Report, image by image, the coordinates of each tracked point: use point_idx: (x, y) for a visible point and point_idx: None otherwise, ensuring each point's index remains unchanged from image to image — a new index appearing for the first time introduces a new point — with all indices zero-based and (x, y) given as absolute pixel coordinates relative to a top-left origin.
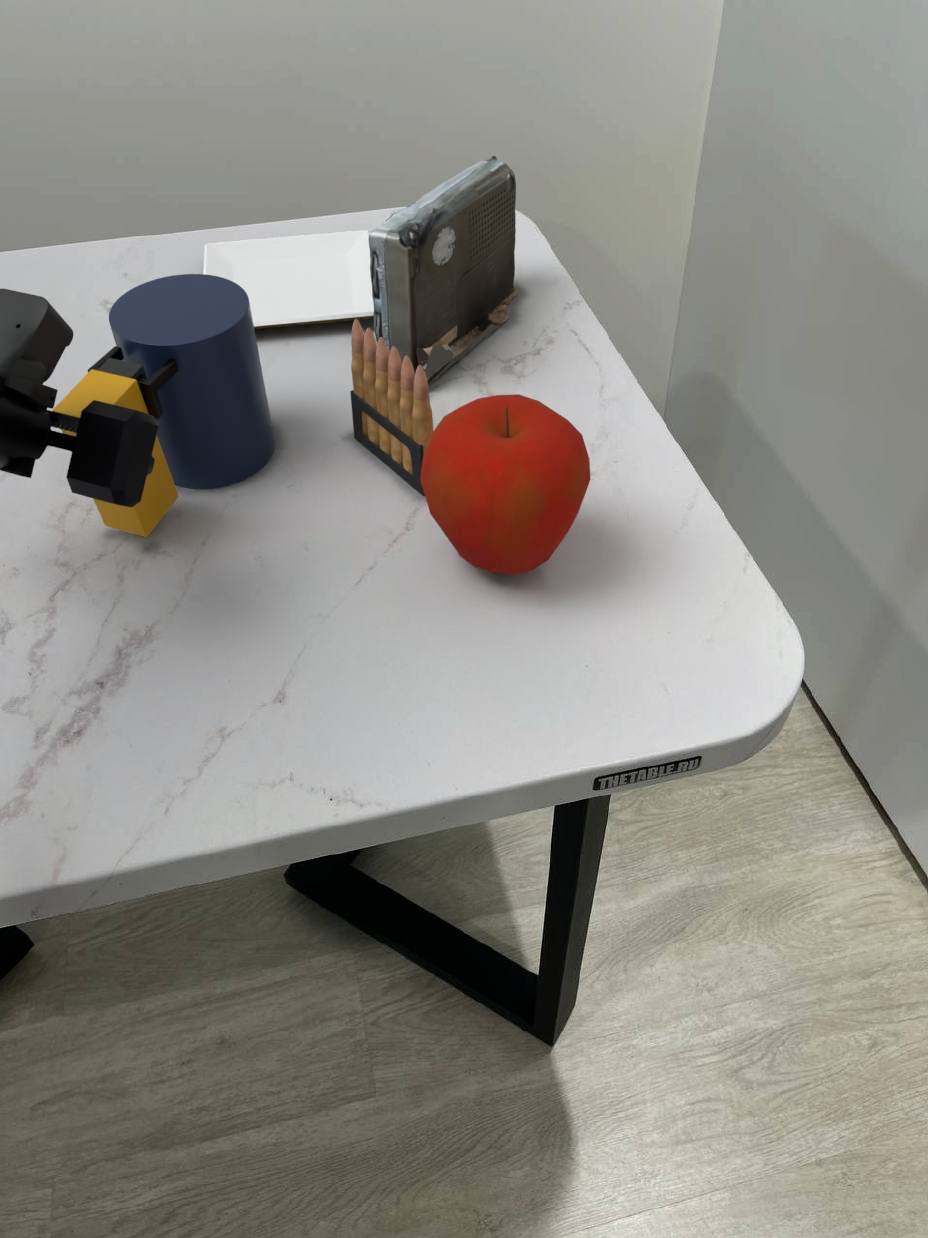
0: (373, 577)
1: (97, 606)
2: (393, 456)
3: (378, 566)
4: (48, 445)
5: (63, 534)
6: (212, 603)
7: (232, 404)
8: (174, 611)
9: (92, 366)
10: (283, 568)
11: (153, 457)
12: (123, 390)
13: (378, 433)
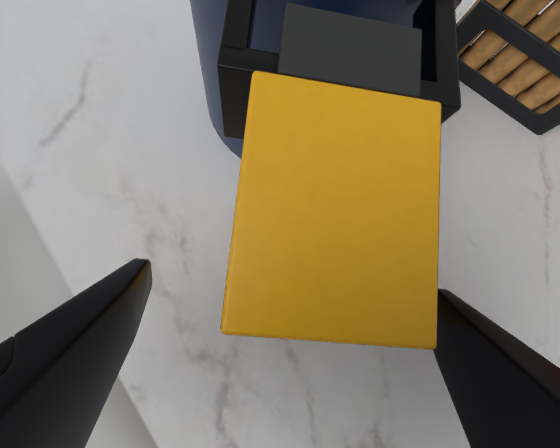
0: (556, 267)
1: (289, 419)
2: (510, 90)
3: (552, 250)
4: (151, 285)
5: (169, 299)
6: (422, 363)
7: None
8: (387, 392)
9: (225, 45)
10: (465, 281)
11: (454, 295)
12: (430, 165)
13: (489, 58)
